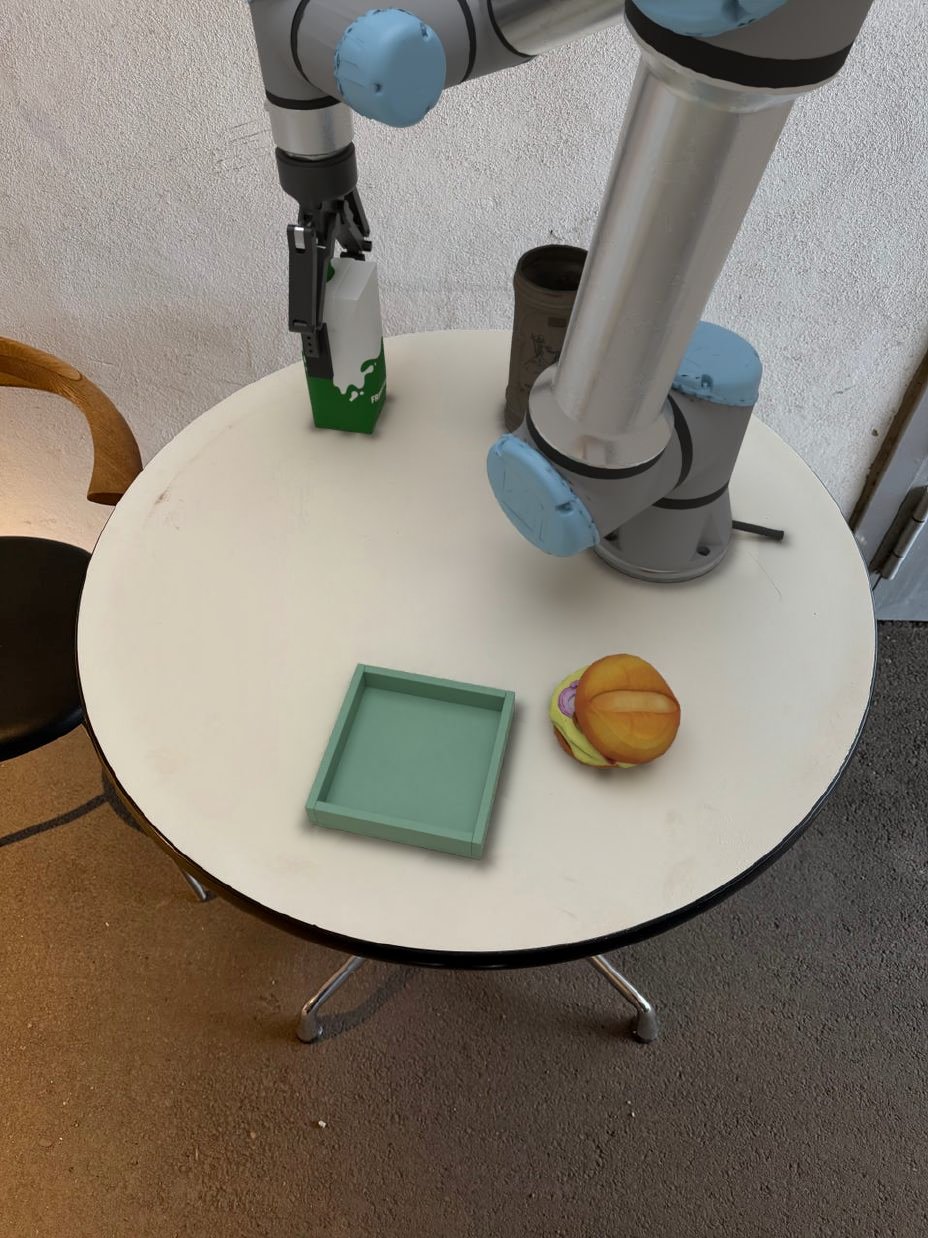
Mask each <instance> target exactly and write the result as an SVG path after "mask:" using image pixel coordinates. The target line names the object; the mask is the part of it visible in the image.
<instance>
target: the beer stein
mask: <svg viewBox="0 0 928 1238" xmlns="http://www.w3.org/2000/svg"><path fill="white" fill-rule="evenodd" d="M587 254H588V250H587V249H585V248H582V247H580V246H575V245H569V244H558V243H549V244H545V245H540V246H536V247H533V248H530V249H529V250H527V251H525V252H524V253H523V254H522V255H521V256H520V257H519V258H518V260H517V263H516V267H515V271H514V273H513V277H512V287H513V299H514V306H513V322H512V333H511V341H510V342H511V343H510V354H509V367H508V380H507V382H508V383H507V386H506V388H505V393H504V394H505V396H504V398H505V405H504V410H503V420H504V422H505V425H506V427H507V429H508V430H509V431H510V433H512V432H514V431H515V430H517V429H518V428H519V427H520V426H521V424H522V423H523V420H524V416H525V412H526V408H527V404H528V401H529V396H530V392H531V389H532V387H533V385H534V383H535V381H536V379H537V378H538V377H539V375H540V374H541V373H542V372H543V371H544V370H546V369H547V368H548V367H550V366H551V365H553V364H555V363H557V362H559V359H560V355H561V351H562V348H563V344H564V340H565V336H566V333H567V329H568V325H569V321H570V318H571V314H572V310H573V306H574V303H575V299H576V295H577V291H578V288H579V284H580V280H581V277H582V273H583V269H584V265H585V262H586V258H587Z"/></svg>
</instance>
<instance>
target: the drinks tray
mask: <svg viewBox="0 0 928 1238" xmlns="http://www.w3.org/2000/svg"><path fill="white" fill-rule="evenodd" d="M515 702H516V691H512V690H506V689H501V688H496V687H491V686H485V685H480V684H473V683H469V682H463V681H458V680H452V679H447V678H441V677H435V676H431V675H425V674H420V673H419V674H418V673H414V672H408V671H403V670H397V669H391V668H386V667H381V666H375V665H370V664H364V663H360V662H358V663H356V667H355V670H354V672H353V674H352V678H351V681H350V683H349V686H348V688H347V691H346V693H345V696H344V699H343V702H342V705H341V707H340V710H339V713H338V715H337V718H336V721H335V723H334V726H333V729H332V732H331V735H330V737H329V740H328V744H327V745H326V749H325V751H324V754H323V757H322V758H321V762H320V764H319V767H318V769H317V773H316V775H315V778H314V781H313V783H312V786H311V789H310V792H309V794H308V798H307V799H306V803H305V805H304V809H305V812H306V815H307V818H308V821H309V824H310V825H314V826H315V825H316V826H320V827H325V828H330V829H335V830H338V831H344V832H348V833H352V834H357V835H362V836H366V837H370V838H371V837H372V838H376V839H382V840H386V841H391V842H396V843H400V844H404V845H409V846H414V847H418V848H423V849H429V850H433V851H438V852H442V853H448V854H450V855H451V854H452V855H457V856H462V857H466V858H470V859H476V860H482V858H483V853H484V848H485V844H486V839H487V835H488V830H489V826H490V822H491V817H492V813H493V807H494V803H495V800H496V795H497V790H498V785H499V780H500V775H501V771H502V767H503V763H504V758H505V754H506V749H507V745H508V740H509V736H510V732H511V726H512V722H513V718H514V712H515V705H516V703H515Z"/></svg>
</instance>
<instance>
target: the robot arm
mask: <svg viewBox="0 0 928 1238" xmlns="http://www.w3.org/2000/svg"><path fill="white" fill-rule="evenodd" d="M874 1H875V0H247V4H248V6H249V11H250V17H251V23H252V27H253V33H254V39H255V44H256V49H257V55H258V61H259V65H260V72H261V77H262V83H263V86H264V93H265V98H266V100H264V103H263V108H264V110H265V111H266V112H268V117H269V122H270V129H271V134H272V140H273V143H274V144H275V145H276V147H275V149H274V156H275V161H276V166H277V173H278V180H279V185H280V187H281V189H282V190H283V191H284V193H285V194H286V195H288V196H290V197H291V198H293V200H295V201H296V202H297V204H298V212H297V224H293V223H288V224H287V226H286V239H287V248H288V288H289V299H288V309H287V310H288V313H287V315H288V320H287V322H288V323H287V324H288V325H287V327H288V331H289V333H294V334H295V333H297V334H298V333H301V338H302V344H303V350H304V356H305V361H306V367H307V373H308V377H314V378H321V379H328V380H332V379H333V377H334V372H333V365H332V358H331V351H330V344H329V337H328V330H327V323H323V322H322V321H323V311H324V301H325V291H326V281H327V271H328V262H329V261H330V260H331V259H333V257H335V248H336V241H337V243H338V244H339V245H340V247H341V248H342V249H343V250H346V251H340V253H339V258H353V259H355V260H358V261H366V254H365V253H371V252H372V251H373V241H372V240H369V239H368V240H367V239H365V238H370V234H371V228H370V225H369V222H368V218H367V215H366V213H365V209H364V206H363V203H362V200H361V197H360V194H359V190H358V188H357V183H358V180H359V175H358V164H357V154H356V146H355V143H354V142H353V140H354V138H355V127H354V118H353V111H354V112H355V113H356V114H358V115H360V116H361V117H365V118H366V119H368V120H375V121H376V122H377V123H381V124H382V125H386V126H388V127H391V128H395V129H405V128H411V127H413V126H416V125H417V124H420V123H421V122H422V121H423V120H424V119H425V116H427V114H428V113H429V112H430V111H431V110H432V109H434V108H435V107H436V105H437V104H438V102H439V100H440V98H441V96H442V93H443V91H444V90H448V89H451V88H453V87H456V86H459V85H461V84H463V83H466V82H469V81H472V80H475V79H478V78H481V77H484V76H487V75H490V74H493V73H494V74H495V73H498V72H500V71H503V70H506V69H510V68H515V67H518V66H521V65H524V64H527V63H530V62H531V61H533V60H534V59H536V58H537V57H539V56H541V55H543V54H545V53H547V52H550V51H553V50H555V49H557V48H560V47H563V46H565V45H567V44H568V45H569V44H570V43H573V42H576V41H579V40H581V39H583V38H587V37H588V36H591V35H595V34H597V33H599V32H602V31H605V30H607V29H610V28H612V27H615V26H617V25H620V24H623V23H624V24H625V26H626V28H627V30H628V32H629V34H630V36H631V37H632V39H633V40H634V42H635V44H636V46H637V48H638V49H639V52H640V56H639V60H638V63H637V64H638V65H637V67H636V72H635V74H634V77H633V81H632V86H631V90H630V94H629V97H628V101H627V105H626V108H625V112H624V116H623V120H622V123H621V126H620V127H621V128H620V131H619V135H618V139H617V142H616V146H615V149H614V154H613V156H612V157H613V158H612V161H611V164H610V169H609V172H608V176H607V180H606V183H605V187H604V191H603V195H602V199H601V202H600V205H599V209H598V213H597V216H596V221H595V225H594V228H593V232H592V235H591V240H590V243H589V247H588V250H587V251H588V254H587V258H586V262H585V265H584V269H583V273H582V277H581V280H580V284H579V288H578V291H577V295H576V299H575V303H574V306H573V310H572V314H571V318H570V321H569V325H568V329H567V333H566V336H565V340H564V344H563V348H562V351H561V355H560V359H559V362H557V363H555V364H553V365H551V366H550V367H548V368H547V369H546V370H544V371H543V372H542V373H541V374H540V375H539V377H538V378H537V379H536V381H535V383H534V385H533V387H532V389H531V392H530V396H529V401H528V404H527V408H526V412H525V416H524V420H523V423H522V424H521V426H520V427H519V428H518V429H517V430H515V431H514V432H507V433H503V434H502V435H501V436H500V437H499V439H498V440H497V441H495V442H494V443H493V444H492V445H491V446H490V448H489V450H488V452H487V454H486V464H485V465H486V473H487V477H488V478H487V479H488V481H489V485H490V488H491V490H492V492H493V495H494V497H495V499H496V500H497V503H498V504H499V507H500V508H501V510H502V512H503V513H504V515H505V517H506V518H507V519H508V520H509V522H510V523H511V524H512V525H513V527H514V528H515V529H516V530H517V531H518V533H520V534H521V535H522V537H523V538H524V539H525V540H526V541H527V542H529V543H530V544H531V545H532V546H533V547H535V548H536V549H538V550H539V551H541V552H543V553H545V554H547V555H550V556H555V557H558V558H571V557H573V556H576V555H578V554H579V553H582V552H584V551H585V550H587V549H589V548H590V547H592V549H593V550H594V551H595V553H596V554H597V555H598V556H599V557H600V558H601V559H602V560H603V561H604V562H606V563H607V564H608V565H609V566H611V567H613V569H616V570H617V571H620V572H621V573H623V574H626V575H628V576H631V577H633V578H637V579H640V580H644V581H650V582H656V583H657V582H658V583H674V582H682V581H687V580H692V579H694V578H697V577H700V576H702V575H704V574H706V573H708V572H709V571H711V570H712V569H713V568H715V567H716V566H717V565H718V564H719V563H720V561H722V559H723V557H724V556H725V555H726V552H727V550H728V546H729V544H730V541H731V539H732V538H731V537H732V535H733V530H736V531H741V532H746V533H750V534H753V535H759V536H763V537H766V538H771V539H776V540H783V539H784V538H785V531H784V530H779V529H775V528H770V527H766V526H763V525H758V524H753V523H751V522H750V523H749V522H746V521H745V522H744V521H740V520H735V519H733V515H732V514H733V513H732V507H731V496H730V489H729V485H730V481H731V478H732V475H733V472H734V469H735V467H736V463H737V460H738V457H739V454H740V451H741V449H742V445H743V441H744V439H745V435H746V432H747V429H748V426H749V423H750V420H751V417H752V414H753V411H754V407H755V404H757V402H758V400H759V397H760V393H759V389H760V386H761V385H760V384H761V381H762V377H763V372H764V371H763V363H762V361H761V359H760V355H759V353H758V351H757V350H756V349H755V348H754V346H753V345H752V344H751V343H750V342H749V341H748V340H746V338H744V337H743V336H741V335H740V334H738V333H736V332H734V331H732V330H731V329H729V328H726V327H724V326H721V325H719V324H717V323H712V322H710V321H705V320H701V319H702V317H703V314H704V313H705V309H706V307H707V305H708V303H709V301H710V298H711V296H712V294H713V291H714V289H715V287H716V285H717V282H718V280H719V278H720V275H721V273H722V271H723V269H724V266H725V264H726V262H727V259H728V258H729V254H730V253H731V250H732V248H733V245H734V244H735V241H736V238H737V236H738V234H739V231H740V229H741V227H742V225H743V222H744V219H746V215H747V214H748V211H749V208H750V206H751V204H752V201H753V200H754V197H755V194H756V192H757V190H758V188H759V185H760V183H761V180H763V179H762V178H763V176H764V174H765V172H766V169H767V167H768V164H769V162H770V160H771V158H772V155H773V153H774V151H775V148H776V146H777V145H778V142H779V139H780V137H781V135H782V133H783V130H784V128H785V125H786V123H787V121H788V119H789V116H790V114H791V112H792V110H793V107H794V105H795V102H796V100H797V99H798V98H800V97H802V96H805V95H807V94H809V93H811V92H814V91H816V90H818V89H820V88H822V87H824V86H825V85H827V84H830V83H831V82H833V80H834V79H835V78H836V77H838V76H839V75H838V74H839V73H840V72H841V70H842V68H843V67H844V66H845V64H846V61H847V58H848V56H849V55H850V53H851V50H852V48H853V45H854V44H855V42H856V40H857V37H858V35H859V33H860V32H861V29H862V27H863V25H864V23H865V20H866V18H867V16H868V14H869V12H870V10H871V7H872V5H873V3H874ZM317 247H322V248H324V249H318V248H317ZM363 252H365V253H363Z"/></svg>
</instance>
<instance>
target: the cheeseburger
mask: <svg viewBox="0 0 928 1238" xmlns="http://www.w3.org/2000/svg"><path fill="white" fill-rule="evenodd" d="M681 712H682V711H681V704H680V702H679V700H678V698H677V697H676V696H675V693H674V692H673V690H672V689H671V687H670V686H669V684H668V682H667V681H666V680H665V679H664V677H663V676H662V674H660V671H658V670H657V668H655V667H654V666H653V665H652V664H651V663H649V662H648V661H646V660H644V659H643V658H642V657H640V656H637V655H633V654H629V653H618V654H617V653H616V654H611V655H606V656H604V657H601V658H599V659H597V660H595V661H594V662H592V663H591V664H590V665H589V664H588V665H586V666H584V667H581V668H579V669H578V670H576V671H575V672H573V673H571V674H569V675H568V676H567V677H565V678H564V679H563V680H562V681H561V682H560V683H559V684H558V685H557V686H556V688H555V689H554V691H553V693H552V696H551V698H550V702H549V705H548V716H549V720H550V723H552V725H553V732H554V735H555V736H556V738H557V741H558V742H559V744H560V746H561V747H562V749H563V751H564V752H565V753H567V754H568V755H569V756H571V757H572V758H573V759H575V761H577V762H578V763H580V764H581V765H585V766H589V767H593V768H597V769H599V770H600V769H601V770H604V769H617V768H618V769H619V768H623V769H627V768H633V767H635V766H638V765H641V764H644V763H650V762H653V761H654V760H656V759H658V758H660V757H661V756H663V755H665V754H666V752H667V751H669V749H670V748H671V747H672V745H673V743H674V741H675V740H676V737H677V734H678V731H679V729H680V725H681V715H682V713H681Z"/></svg>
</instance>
